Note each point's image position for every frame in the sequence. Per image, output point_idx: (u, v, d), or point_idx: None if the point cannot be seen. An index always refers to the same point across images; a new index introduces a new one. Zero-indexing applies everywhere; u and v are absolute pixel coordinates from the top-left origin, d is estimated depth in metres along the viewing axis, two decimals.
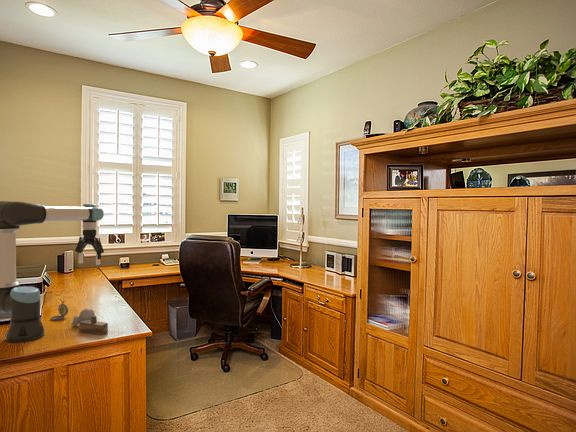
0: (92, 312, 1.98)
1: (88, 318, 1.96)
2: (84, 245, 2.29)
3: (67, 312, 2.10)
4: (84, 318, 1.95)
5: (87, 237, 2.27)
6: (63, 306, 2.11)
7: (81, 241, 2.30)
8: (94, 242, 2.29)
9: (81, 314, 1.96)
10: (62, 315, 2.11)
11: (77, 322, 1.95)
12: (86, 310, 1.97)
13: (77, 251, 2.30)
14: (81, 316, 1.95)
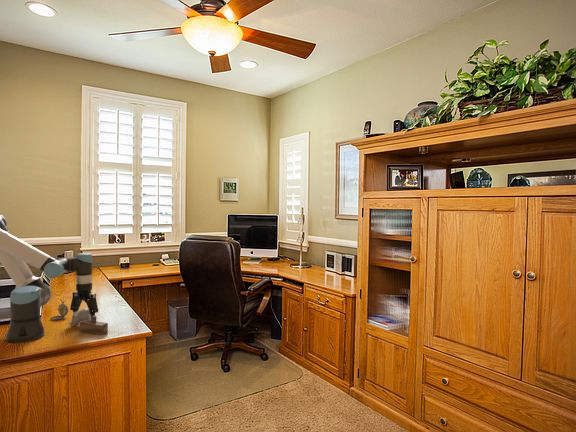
0: None
1: (87, 318, 1.96)
2: (79, 302, 1.98)
3: (67, 312, 2.10)
4: (82, 318, 1.95)
5: (81, 292, 1.97)
6: (63, 306, 2.11)
7: (75, 297, 1.99)
8: (89, 298, 1.98)
9: (80, 314, 1.96)
10: (62, 315, 2.11)
11: (76, 322, 1.95)
12: (84, 310, 1.97)
13: (72, 310, 1.99)
14: (80, 316, 1.95)
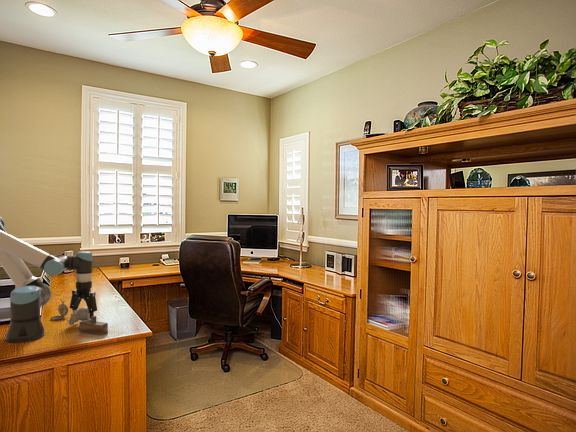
0: None
1: (85, 316, 1.96)
2: (79, 300, 1.98)
3: (67, 312, 2.10)
4: (81, 316, 1.95)
5: (81, 290, 1.97)
6: (63, 306, 2.11)
7: (75, 295, 1.99)
8: None
9: (78, 312, 1.95)
10: (62, 315, 2.11)
11: (74, 320, 1.95)
12: (83, 308, 1.97)
13: (72, 308, 1.99)
14: (78, 314, 1.95)
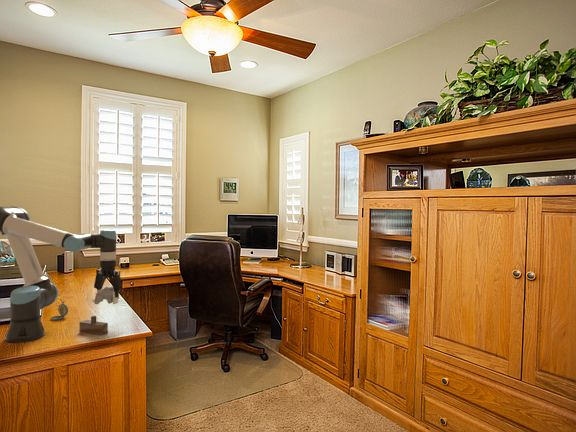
0: None
1: (111, 295, 1.93)
2: (103, 279, 1.96)
3: (67, 312, 2.10)
4: (106, 295, 1.92)
5: (105, 269, 1.94)
6: (63, 306, 2.11)
7: (99, 275, 1.97)
8: (113, 275, 1.95)
9: (103, 291, 1.93)
10: (62, 315, 2.11)
11: (100, 299, 1.92)
12: (108, 287, 1.94)
13: (96, 288, 1.96)
14: (104, 293, 1.92)
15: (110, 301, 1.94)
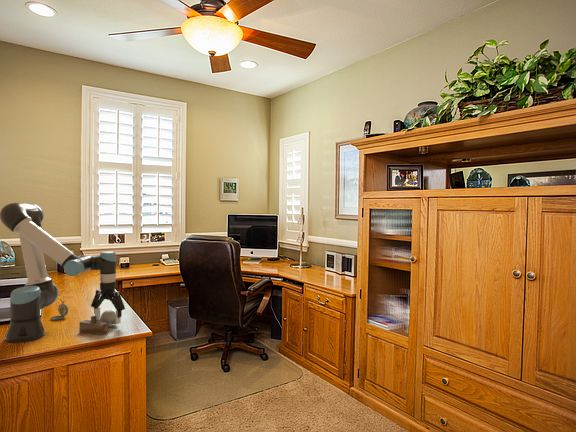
0: (114, 314, 1.96)
1: (110, 320, 1.94)
2: (101, 300, 1.96)
3: (67, 312, 2.10)
4: (106, 320, 1.93)
5: (105, 291, 1.94)
6: (63, 306, 2.11)
7: (98, 295, 1.97)
8: (113, 296, 1.95)
9: (103, 316, 1.93)
10: (62, 315, 2.11)
11: None
12: (108, 312, 1.95)
13: None
14: (103, 318, 1.93)
15: (110, 325, 1.94)
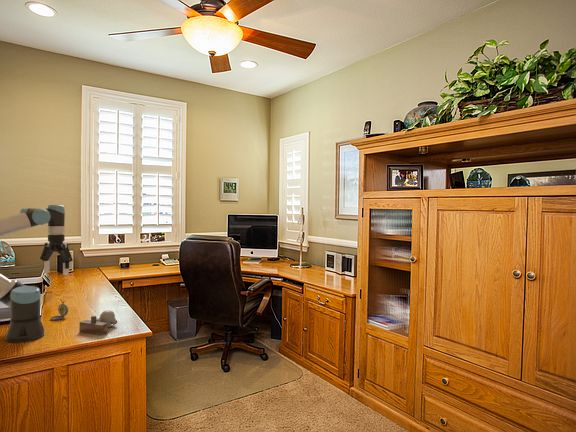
0: (113, 314, 1.96)
1: (109, 320, 1.93)
2: (50, 252, 1.99)
3: (67, 312, 2.10)
4: (105, 320, 1.92)
5: (53, 243, 1.97)
6: (63, 306, 2.11)
7: (47, 248, 2.00)
8: (62, 249, 1.99)
9: (102, 316, 1.93)
10: (62, 315, 2.11)
11: None
12: (107, 312, 1.94)
13: (42, 259, 2.00)
14: (102, 318, 1.92)
15: (109, 325, 1.94)
